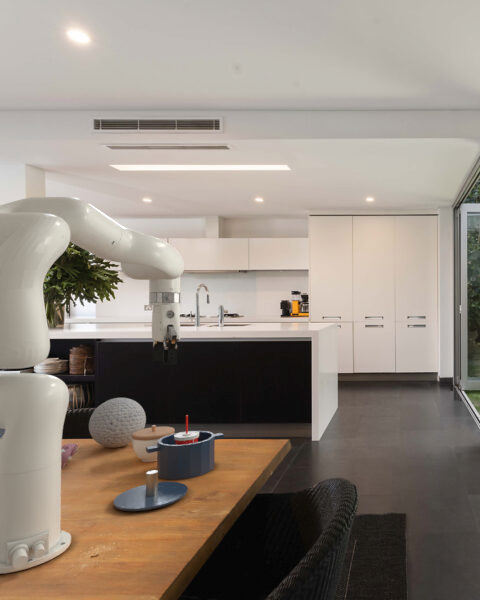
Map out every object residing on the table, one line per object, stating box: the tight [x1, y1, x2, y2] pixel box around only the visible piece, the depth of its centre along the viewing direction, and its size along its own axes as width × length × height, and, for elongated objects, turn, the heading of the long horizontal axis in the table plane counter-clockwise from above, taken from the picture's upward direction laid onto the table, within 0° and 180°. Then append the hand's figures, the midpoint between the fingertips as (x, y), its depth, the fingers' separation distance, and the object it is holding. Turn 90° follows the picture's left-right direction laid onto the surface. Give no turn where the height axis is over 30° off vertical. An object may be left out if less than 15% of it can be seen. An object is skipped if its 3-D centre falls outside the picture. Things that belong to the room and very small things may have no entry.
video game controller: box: [61, 442, 79, 469], centre depth 122 cm, size 10×5×7 cm, turn 22°
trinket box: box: [131, 424, 176, 463], centre depth 128 cm, size 11×11×9 cm
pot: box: [146, 430, 225, 481], centre depth 119 cm, size 14×19×8 cm
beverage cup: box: [174, 414, 199, 445], centre depth 119 cm, size 6×6×14 cm
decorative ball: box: [88, 397, 147, 449], centre depth 140 cm, size 15×15×15 cm
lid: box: [112, 469, 189, 512], centre depth 101 cm, size 15×15×6 cm
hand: (164, 362), depth 121 cm, fingers open, 9 cm apart
